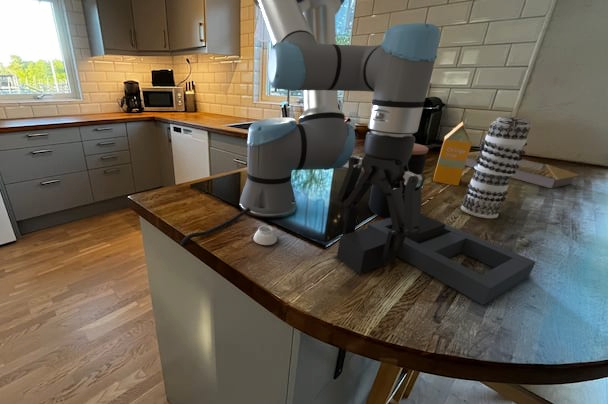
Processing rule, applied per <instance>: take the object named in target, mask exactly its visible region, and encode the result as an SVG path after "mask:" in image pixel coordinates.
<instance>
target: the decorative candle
mask: <svg viewBox="0 0 608 404" xmlns="http://www.w3.org/2000/svg"><path fill="white" fill-rule="evenodd" d="M533 127H534V126H533V125H531V123H530V120H529V119H527V118H524V117H517V116H499V117H497V118H496V119H495V120H494V121H491V122H490V126H489V129H488V132H487V134H486V135H485V137H483V138H481V140H480V142H481V144H480V145H479V146H478V147H479V149H480V150H479V151H480V152H479V151H478V152H479V153H478V154H477V155H478V158H477V159H476V162H477V163H478V164H476V166H475V167H473V168H474V169H475V171H474V173H473V176H472V177H471V179H470V182H469V184H467V187H468V188H467V189H466V190H465V192H466V194H465V195H464V196H463V200H462V201H461V204H462V205H461V206H460V209H461V211H462V212H464V213H466V214H469V215H471V216H474V217H478V218H483V219H497V218H498V217H499V214H500V212H501V211H502V210H501V208H502V207H503V206H504V204H503V202H504V201H505V200H506V197H505V196H507V195H508V189H509V186H510V184H509V183H510V181H511V179H512V178H511V176H512V175H514V174H515V173H516V171H514V170H513V169H516V168H518V167H519V166H518V165H517V163H516V162H517V161H520V160H523V159H524V158H523V157H522V155H525V154H526V151H525V150H524V149H523V147H526V146H527V145H528V143H527V140H528V135H529V134H530V130H531V128H533Z"/></svg>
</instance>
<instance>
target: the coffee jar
mask: <svg viewBox="0 0 608 404" xmlns="http://www.w3.org/2000/svg"><path fill="white" fill-rule="evenodd" d="M428 152H429V147H428V146H426V145H423V144H420V143H416V142H415V143H414V147H413V151H412V155H411V157H410V159H409V161H408V169H409V171H410V172H412V173H414V174H416V175H420V174H423V172H424V169H425V165H426V160H427V158H426V154H427V153H428ZM401 182H402V187H403V191H402V196H403V201H404V195H405V187H406V185H404V182H405V179H402V180H401ZM391 189H394V187H391ZM368 207H369V210H370V212H372V213H373V214H374V215H376V216H379V217H381V218H384V219H387V218H391V216H390V211H389V206H388V202H387V197H386V195H385V194H384V192H383V189H382V188H380V187H378V186H377V185H371V190H370V196H369V200H368Z"/></svg>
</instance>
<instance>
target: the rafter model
mask: <svg viewBox="0 0 608 404" xmlns="http://www.w3.org/2000/svg"><path fill="white" fill-rule="evenodd" d="M480 151H481V150H479V151H471V152H470V151H469V154H468V157H467V160H466V164H465V167H470V168H474V167H475V166H476V164H478V163H477V162H476V159H477V158H478V155H477V154H478V153H479V152H480ZM516 163H517V165H518V166H519V167H518V168H516V169H513V170H514V171H516V173H515V174H514V175H512V176H511V179H516V180H519V181H523V182H527V183H530V184H533V185H534V184H535V185H537V186H542V187H545V188H548V189H549V188H550V189H554V188H558V187H564V186H568V185H571V184H572V182H573V180H574V178H575V177H578V176H580V175H581V174H579V173H576V172H572V171H569V170H566V169H563V168H560V167H557V166H554V165H551V164H548V163H545V164H543V163H542V162H540V163H539V162H537V161H535V162H534V161H533V160H531V161H530V160H529V159H524V158H523V159H522V160H520V161H517V162H516Z"/></svg>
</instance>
